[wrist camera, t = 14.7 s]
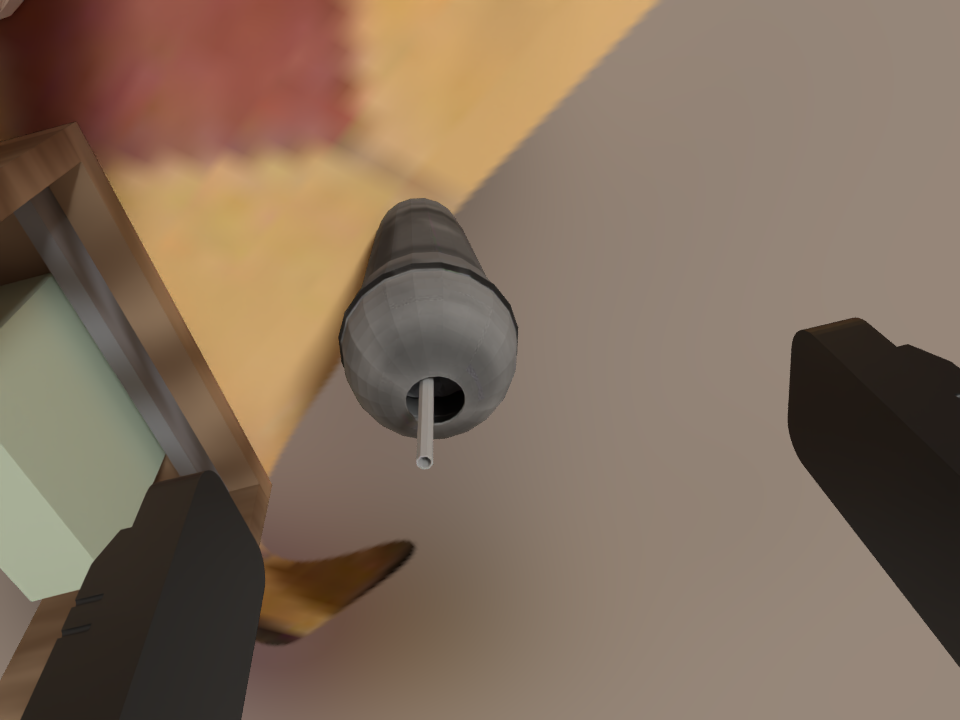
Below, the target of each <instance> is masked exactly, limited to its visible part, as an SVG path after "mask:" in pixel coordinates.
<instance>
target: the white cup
mask: <svg viewBox="0 0 960 720" xmlns="http://www.w3.org/2000/svg"><path fill="white" fill-rule="evenodd" d="M23 1H24V0H0V19H3V18H6V17H9V16H11V15H12V14H13V13H14V12H15V10H16V9H17V8H18V7H19V6H20V4H21V3H22V2H23Z"/></svg>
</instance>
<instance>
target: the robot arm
mask: <svg viewBox="0 0 960 720" xmlns="http://www.w3.org/2000/svg"><path fill="white" fill-rule="evenodd" d="M789 386H790V387H789V403H788V428H789V434H790V438H791V441H792V444H793V447H794V449H795V451H796V454H797V456H798V457H799V459H800V461H801V463H802V464H803V465H804V467H805V468H806V469H807V471H808V472H809V473H810V474H811V476H812V477H813V478H814V480H815V481H816V482H817V483H818V484H819V486H820V487H821V489H822V490H823V491H824V493H825V494H826V495H827V496H828V498H829V499H830V500H831V502H832V503H833V504H834V505H835V507H836V508H837V509H838V511H839V512H840V513H841V514H842V516H843V517H844V518H845V520H846V521H847V522H848V523H849V525H850V526H851V527H852V529H853V530H854V531H855V533H856V534H857V535H858V536H859V538H860V539H861V540H862V542H863V543H864V544H865V545H866V547H867V548H868V549H869V551H870V552H871V553H872V555H873V556H874V557H875V558H876V560H877V561H878V562H879V563H880V565H881V566H882V568H883V569H884V570H885V571H886V573H887V574H888V575H889V577H890V578H891V579H892V580H893V582H894V583H895V584H896V586H897V587H898V588H899V589H900V591H901V592H902V593H903V595H904V596H905V597H906V598H907V600H908V601H909V602H910V604H911V605H912V606H913V608H914V609H915V610H916V611H917V613H918V614H919V615H920V616H921V618H922V619H923V621H924V622H925V623H926V624H927V626H928V627H929V628H930V630H931V631H932V632H933V633H934V635H935V636H936V637H937V639H938V640H939V641H940V642H941V644H942V645H943V646H944V648H945V649H946V650H947V652H948V653H949V654H950V655H951V657H952V658H953V659H954V661H955V662H956V663H957V664H958V666H959V667H960V368H959V367H957V366H956V365H955V364H953V363H952V362H950V361H948V360H946V359H943V358H941V357H938V356H936V355H933V354H931V353H928V352H926V351H923V350H921V349H919V348H916V347H914V346H911V345H909V344H907V345H903V346H899V347H896V346H895V345H894V344H893V343H892V342H890V341H889V340H888V339H887V338H885V337H884V336H883V335H882V334H881V333H879V332H878V331H877V330H876V329H875V328H873V327H872V326H871V325H870V324H868V323H867V322H866V321H864V320H863V319H860V318H850V319H846V320H842V321H838V322H833V323H829V324H825V325H821V326H817V327H812V328H809V329H804V330H800V331H798V332H797V333H796V334H795V336H794V338H793V341H792V349H791V367H790V385H789ZM264 588H265V570H264V563H263V558H262V554H261V551H260V548H259V546H258V544H257V542H256V540H255V538H254V536H253V535H252V533H251V531H250V529H249V528H248V526H247V524H246V522H245V520H244V519H243V517H242V515H241V513H240V512H239V510H238V508H237V506H236V505H235V503H234V501H233V499H232V497H231V496H230V494H229V492H228V490H227V489H226V487H225V485H224V483H223V482H222V480H221V478H220V477H219V476H218V475H217V474H216V473H215V472H214V471H211V470H206V471H202V472H198V473H194V474H189V475H185V476H181V477H177V478H173V479H168V480H164V481H160V482H156V483H154V484H152V485H151V486H150V487H149V488H148V490H147V492H146V494H145V497H144V499H143V501H142V504H141V506H140V509H139V511H138V513H137V516H136V518H135V521H134V523H133V525H132V527H130V528H125V529H121V530H120V531H119V532H118V533H117V534H116V536H115V537H114V538H113V539H112V540H111V541H110V543H109V544H108V545H107V546H106V547H105V548H104V550H103V551H102V552H101V553H100V554H99V556H98V557H97V558H96V559H95V560H94V561H93V563H92V564H91V566H90V568H89V570H88V572H87V575H86V577H85V579H84V581H83V583H82V585H81V588H80V590H79V592H78V594H77V596H76V599H75V601H76V606H75V607H71V610H70V612H69V614H68V616H67V618H66V621H65V623H64V625H63V627H62V629H61V632H62V637H61V638H58V639H57V640H56V642H55V645H54V647H53V649H52V651H51V653H50V656H49V658H48V660H47V662H46V664H45V667H44V669H43V671H42V673H41V675H40V678H39V680H38V682H37V684H36V686H35V688H34V691H33V693H32V695H31V697H30V699H29V702H28V704H27V706H26V708H25V710H24V713H23V715H22V717H21V719H20V720H241V717H242V712H243V706H244V701H245V695H246V689H247V684H248V678H249V672H250V667H251V661H252V656H253V650H254V645H255V639H256V634H257V628H258V622H259V617H260V611H261V606H262V600H263V595H264Z"/></svg>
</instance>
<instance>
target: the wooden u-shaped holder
mask: <svg viewBox="0 0 960 720" xmlns="http://www.w3.org/2000/svg"><path fill="white" fill-rule="evenodd" d="M48 273H52V275H53V276H54V278H55V279H56V281H57V283H58V284H59V286H60V287H61V289H62V290H63V292H64V294H65V295H66V297H67V298H68V300H69V301H70V303H71V305H72V306H73V308H74V309H75V311H76V313H77V314H78V316H79V317H80V319H81V320H82V322H83V324H84V325H85V327H86V328H87V330H88V331H89V333H90V335H91V336H92V338H93V339H94V341H95V342H96V344H97V346H98V347H99V349H100V350H101V352H102V354H103V355H104V357H105V358H106V360H107V361H108V363H109V365H110V366H111V368H112V369H113V371H114V372H115V374H116V376H117V377H118V379H119V380H120V382H121V383H122V385H123V387H124V388H125V390H126V391H127V393H128V395H129V396H130V398H131V399H132V401H133V402H134V404H135V406H136V407H137V409H138V410H139V412H140V413H141V415H142V417H143V418H144V420H145V421H146V423H147V425H148V426H149V428H150V429H151V431H152V432H153V434H154V436H155V437H156V439H157V440H158V442H159V443H160V445H161V447H162V448H163V450H164V451H165V453H166V454H165V456H164V459H163V461H162V463H161V466H160V468H159V470H158V473H157V475H156V478H155V480H154V482H153V484H154V483H156V482H160V481H164V480H168V479H173V478H177V477H181V476H185V475H189V474H194V473H198V472H202V471H206V470H211V471H214V472H215V473H216V474H217V475H218V476H219V477H220V478H221V480H222V482H223V483H224V485H225V487H226V489H227V490H228V492H229V494H230V496H231V497H232V499H233V501H234V503H235V505H236V506H237V508H238V510H239V512H240V513H241V515H242V517H243V519H244V520H245V522H246V524H247V526H248V528H249V529H250V531H251V533H252V535H253V536H254V538H255V540H256V542H257V544H258V546H259V545H260V540H261V536H262V531H263V526H264V521H265V517H266V512H267V506H268V502H269V498H270V492H271V487H272V484H271V482H270V480H269V478H268V476H267V474H266V472H265V471H264V469H263V467H262V465H261V463H260V461H259V459H258V458H257V456H256V454H255V452H254V450H253V448H252V446H251V445H250V443H249V441H248V439H247V437H246V435H245V433H244V432H243V430H242V428H241V426H240V424H239V422H238V420H237V419H236V417H235V415H234V413H233V411H232V409H231V408H230V406H229V404H228V402H227V400H226V398H225V396H224V395H223V393H222V391H221V389H220V387H219V385H218V383H217V382H216V380H215V378H214V376H213V374H212V372H211V370H210V369H209V367H208V365H207V363H206V361H205V359H204V357H203V356H202V354H201V352H200V350H199V348H198V346H197V345H196V343H195V341H194V339H193V337H192V335H191V333H190V332H189V330H188V328H187V326H186V324H185V322H184V320H183V319H182V317H181V315H180V313H179V311H178V309H177V307H176V306H175V304H174V302H173V300H172V298H171V296H170V294H169V293H168V291H167V289H166V287H165V285H164V283H163V282H162V280H161V278H160V276H159V274H158V272H157V270H156V269H155V267H154V265H153V263H152V261H151V259H150V257H149V256H148V254H147V252H146V250H145V248H144V246H143V244H142V243H141V241H140V239H139V237H138V235H137V233H136V231H135V230H134V228H133V226H132V224H131V222H130V220H129V219H128V217H127V215H126V213H125V211H124V209H123V207H122V206H121V204H120V202H119V200H118V198H117V196H116V194H115V193H114V191H113V189H112V187H111V185H110V183H109V181H108V180H107V178H106V176H105V174H104V172H103V170H102V168H101V167H100V165H99V163H98V161H97V159H96V157H95V156H94V154H93V152H92V150H91V148H90V146H89V144H88V143H87V141H86V139H85V137H84V135H83V133H82V131H81V130H80V128H79V126H78V124H77V122H73V123H69V124H65V125H61V126H58V127H54V128H50V129H47V130H43V131H39V132H36V133H32V134H28V135H25V136H21V137H17V138H14V139H10V140H6V141H2V142H0V286H3V285H6V284H10V283H14V282H18V281H21V280H25V279H29V278H33V277H36V276H40V275H44V274H48ZM79 590H80V589H79ZM79 590H76V591H72V592H68V593H64V594H60V595H56V596H52V597H48V598H44V599H42V601H41V603H40V605H39V607H38V609H37V611H36V613H35V615H34V616H33V619H32V620H31V622H30V625H29V626H28V628H27V630H26V632H25V634H24V636H23V638H22V640H21V642H20V643H19V645H18V647H17V650H16V651H15V653H14V655H13V657H12V659H11V661H10V663H9V665H8V667H7V669H6V670H5V673H4V675H3V676H2V678H1V680H0V720H20V719H21V717H22V715H23V713H24V710H25V708H26V706H27V704H28V702H29V699H30V697H31V695H32V693H33V691H34V688H35V686H36V684H37V682H38V680H39V678H40V675H41V673H42V671H43V669H44V667H45V664H46V662H47V660H48V658H49V656H50V653H51V651H52V649H53V647H54V645H55V642H56V640H57V639H58V638H61V637H62V632H61V629H62V627H63V625H64V623H65V621H66V618H67V616H68V614H69V612H70V610H71V607H75V606H76V601H75V599H76V596H77V594H78V592H79Z"/></svg>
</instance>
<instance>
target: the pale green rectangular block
mask: <svg viewBox="0 0 960 720" xmlns="http://www.w3.org/2000/svg"><path fill="white" fill-rule="evenodd" d="M165 454H166V453H165V451H164V450H163V448H162V447H161V445H160V443H159V442H158V440H157V439H156V437H155V436H154V434H153V432H152V431H151V429H150V428H149V426H148V425H147V423H146V421H145V420H144V418H143V417H142V415H141V413H140V412H139V410H138V409H137V407H136V406H135V404H134V402H133V401H132V399H131V398H130V396H129V395H128V393H127V391H126V390H125V388H124V387H123V385H122V383H121V382H120V380H119V379H118V377H117V376H116V374H115V372H114V371H113V369H112V368H111V366H110V365H109V363H108V361H107V360H106V358H105V357H104V355H103V354H102V352H101V350H100V349H99V347H98V346H97V344H96V342H95V341H94V339H93V338H92V336H91V335H90V333H89V331H88V330H87V328H86V327H85V325H84V324H83V322H82V320H81V319H80V317H79V316H78V314H77V313H76V311H75V309H74V308H73V306H72V305H71V303H70V301H69V300H68V298H67V297H66V295H65V294H64V292H63V290H62V289H61V287H60V286H59V284H58V283H57V281H56V279H55V278H54V276H53V275H52V273H48V274H44V275H40V276H36V277H33V278H29V279H25V280H21V281H18V282H14V283H10V284H6V285H3V286H0V568H1V569H2V571H3V572H4V573H5V574H6V575H7V576H8V577H9V578H10V579H11V580H12V581H13V582H14V584H16V586H17V587H18V588H19V589H20V590H21V591H22V592H23V593H24V594H25V595H26V597H27V598H28V599H29V600H30V601H31V602H32V601H36V600H40V599H44V598H48V597H52V596H56V595H60V594H64V593H68V592H72V591H76V590H79V589H80V588H81V585H82V583H83V581H84V579H85V577H86V575H87V572H88V570H89V568H90V566H91V564H92V563H93V561H94V560H95V559H96V558H97V557H98V556H99V554H100V553H101V552H102V551H103V550H104V548H105V547H106V546H107V545H108V544H109V543H110V541H111V540H112V539H113V538H114V537H115V536H116V534H117V533H118V532H119V531H120V530H121V529H125V528H130V527H132V525H133V523H134V521H135V518H136V516H137V513H138V511H139V509H140V506H141V504H142V501H143V499H144V497H145V494H146V492H147V490H148V488H149V487H150V486H151V485H152V484H153V482H154V480H155V478H156V475H157V473H158V470H159V468H160V466H161V463H162V461H163V459H164V456H165Z"/></svg>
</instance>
